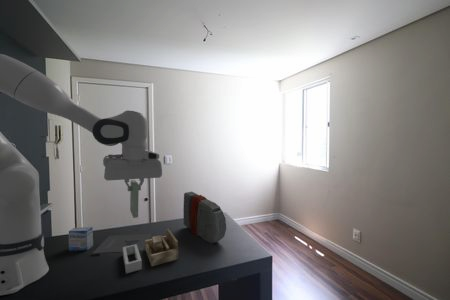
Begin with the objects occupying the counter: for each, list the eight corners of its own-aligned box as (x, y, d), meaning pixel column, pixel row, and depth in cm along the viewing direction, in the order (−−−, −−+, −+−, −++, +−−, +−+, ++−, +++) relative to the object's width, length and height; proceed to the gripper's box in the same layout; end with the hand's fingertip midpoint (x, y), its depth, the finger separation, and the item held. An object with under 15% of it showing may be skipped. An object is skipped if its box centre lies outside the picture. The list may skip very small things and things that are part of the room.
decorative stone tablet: (182, 191, 113) (217, 210, 91) (192, 189, 118) (229, 207, 95) (181, 226, 116) (215, 253, 93) (191, 223, 120) (227, 248, 97)
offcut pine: (153, 248, 84) (153, 242, 84) (152, 241, 89) (152, 236, 89) (161, 246, 85) (161, 241, 85) (159, 240, 91) (159, 235, 90)
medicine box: (68, 251, 93) (67, 231, 92) (75, 246, 97) (74, 227, 97) (87, 250, 93) (87, 230, 93) (93, 245, 97) (92, 226, 97)
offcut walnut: (155, 255, 83) (155, 249, 83) (150, 247, 89) (150, 242, 89) (163, 252, 85) (163, 247, 85) (158, 245, 91) (158, 240, 91)
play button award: (109, 235, 105) (151, 233, 107) (109, 238, 105) (151, 237, 107) (92, 252, 89) (142, 250, 91) (92, 256, 89) (142, 254, 91)
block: (133, 218, 78) (133, 185, 78) (130, 209, 87) (130, 180, 86) (138, 217, 79) (138, 184, 78) (134, 209, 88) (134, 179, 87)
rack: (151, 268, 80) (151, 247, 79) (145, 251, 92) (144, 233, 91) (178, 260, 84) (177, 241, 84) (168, 245, 97) (168, 228, 96)
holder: (126, 275, 75) (125, 264, 75) (123, 256, 88) (122, 247, 87) (141, 271, 78) (141, 260, 78) (136, 253, 90) (136, 244, 90)
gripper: (103, 154, 74) (103, 194, 75) (163, 154, 84) (162, 189, 85) (103, 154, 80) (102, 191, 80) (159, 153, 90) (159, 187, 90)
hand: (134, 190), depth 83 cm, fingers closed on block, 2 cm apart
